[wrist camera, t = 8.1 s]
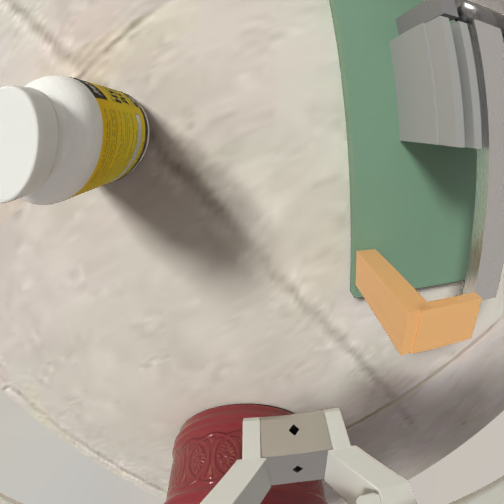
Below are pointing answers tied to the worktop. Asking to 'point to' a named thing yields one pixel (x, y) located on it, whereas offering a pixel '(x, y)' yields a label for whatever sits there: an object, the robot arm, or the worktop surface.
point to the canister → (225, 457)
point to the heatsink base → (398, 173)
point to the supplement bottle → (66, 138)
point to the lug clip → (412, 307)
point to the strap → (487, 150)
